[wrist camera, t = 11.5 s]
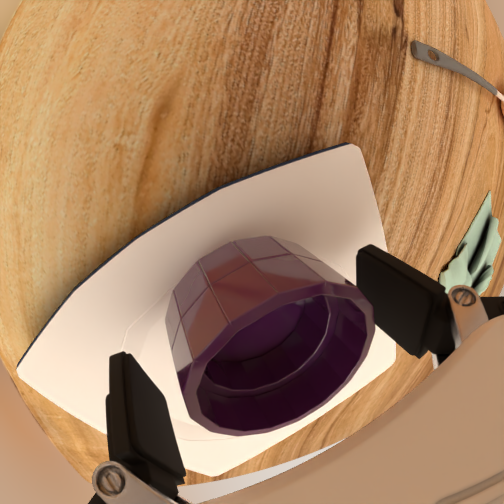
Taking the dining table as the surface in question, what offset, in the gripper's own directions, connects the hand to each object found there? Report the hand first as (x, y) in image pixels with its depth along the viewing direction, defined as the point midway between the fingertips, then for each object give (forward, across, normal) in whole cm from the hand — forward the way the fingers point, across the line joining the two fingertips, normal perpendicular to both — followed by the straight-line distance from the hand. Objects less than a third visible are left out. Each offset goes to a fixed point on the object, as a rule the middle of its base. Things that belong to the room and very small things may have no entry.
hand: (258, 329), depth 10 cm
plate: (+4, 0, +6) cm, 7 cm away
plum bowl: (+1, 0, 0) cm, 2 cm away
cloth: (+4, -30, +15) cm, 34 cm away
